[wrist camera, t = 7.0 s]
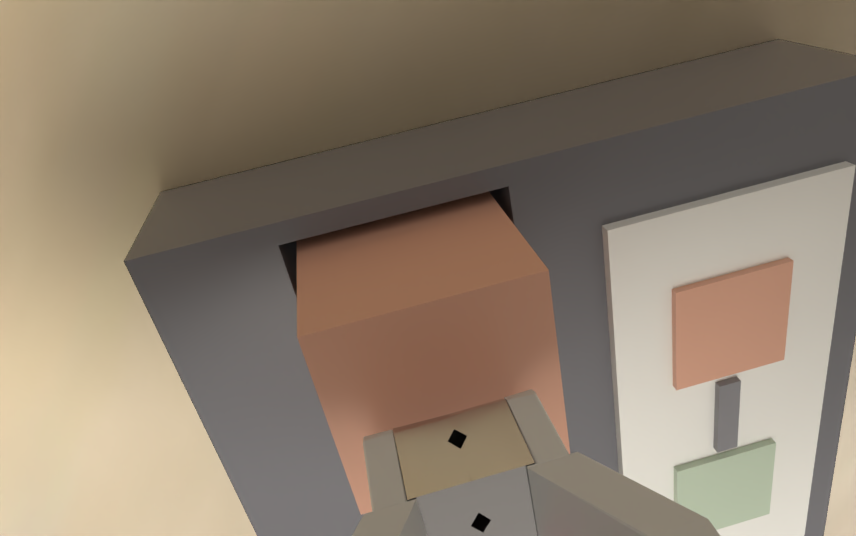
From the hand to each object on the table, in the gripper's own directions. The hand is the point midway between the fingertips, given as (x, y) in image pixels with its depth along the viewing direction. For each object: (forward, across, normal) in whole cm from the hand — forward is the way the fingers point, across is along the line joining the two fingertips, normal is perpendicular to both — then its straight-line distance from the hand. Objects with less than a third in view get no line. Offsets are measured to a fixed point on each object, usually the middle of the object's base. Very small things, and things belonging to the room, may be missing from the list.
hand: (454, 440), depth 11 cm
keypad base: (+8, -3, +6) cm, 10 cm away
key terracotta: (+5, 0, 0) cm, 5 cm away
